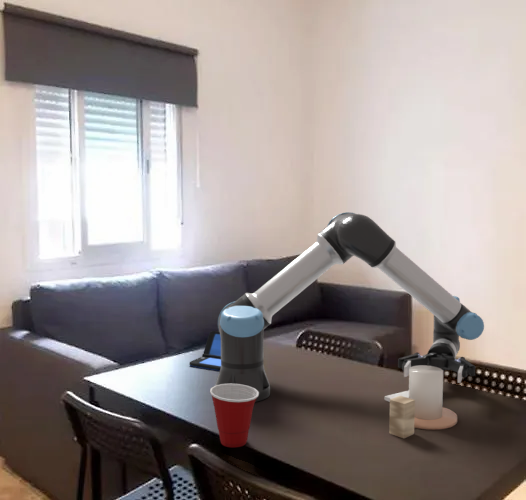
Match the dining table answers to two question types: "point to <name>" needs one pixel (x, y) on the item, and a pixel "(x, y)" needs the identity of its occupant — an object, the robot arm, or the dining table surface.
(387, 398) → the white square pad
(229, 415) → the plastic cup
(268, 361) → the dining table surface
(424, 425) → the peach round disc
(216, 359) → the handheld game console
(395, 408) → the beech block
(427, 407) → the white pillar candle
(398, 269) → the robot arm
